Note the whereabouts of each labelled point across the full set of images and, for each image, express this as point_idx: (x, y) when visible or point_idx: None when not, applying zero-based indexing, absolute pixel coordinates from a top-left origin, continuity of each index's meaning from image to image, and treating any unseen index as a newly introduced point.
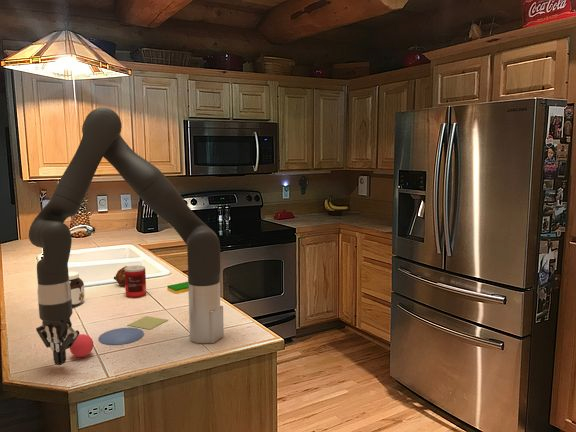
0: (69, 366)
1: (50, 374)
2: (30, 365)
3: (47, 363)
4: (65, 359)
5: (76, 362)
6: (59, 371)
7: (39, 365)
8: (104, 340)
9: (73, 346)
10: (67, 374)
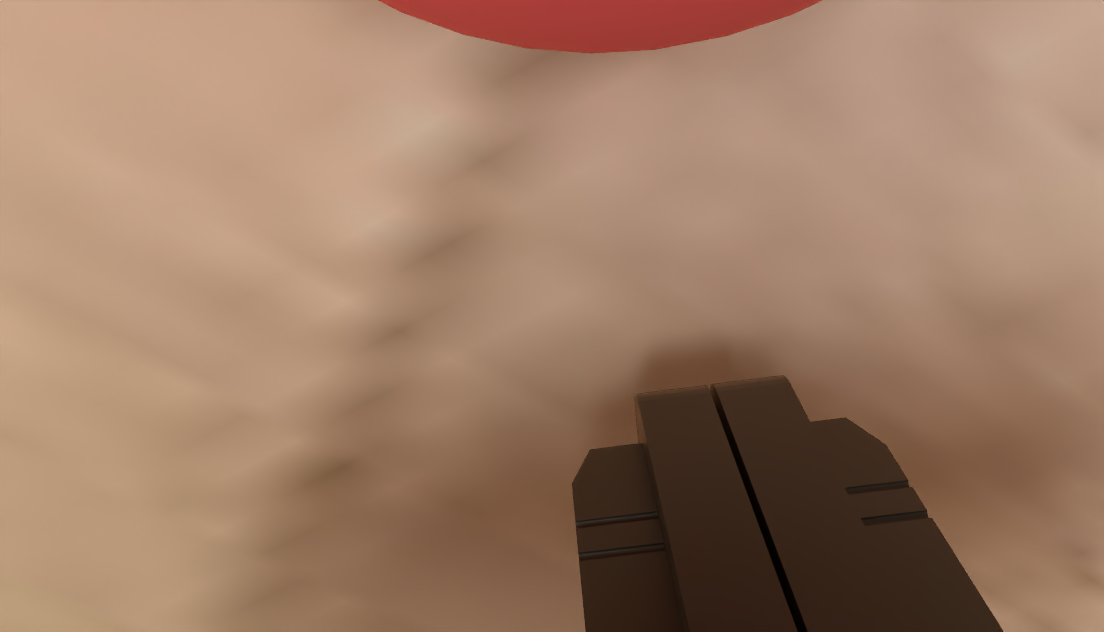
0: (797, 248)
1: None
2: (12, 608)
3: (200, 402)
4: (884, 467)
5: None
6: None
7: (162, 529)
8: None
9: (706, 38)
10: (1051, 477)
